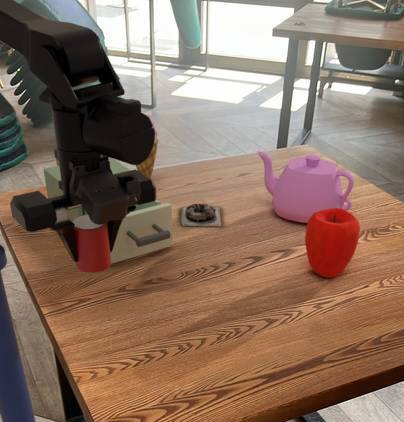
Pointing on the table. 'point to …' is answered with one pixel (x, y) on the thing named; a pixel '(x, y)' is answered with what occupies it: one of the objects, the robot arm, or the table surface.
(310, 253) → the apple
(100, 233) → the can
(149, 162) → the ice cream cone
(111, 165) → the cabinet
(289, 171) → the teapot
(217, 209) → the donut
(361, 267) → the table surface
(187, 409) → the table surface
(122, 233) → the drawer
